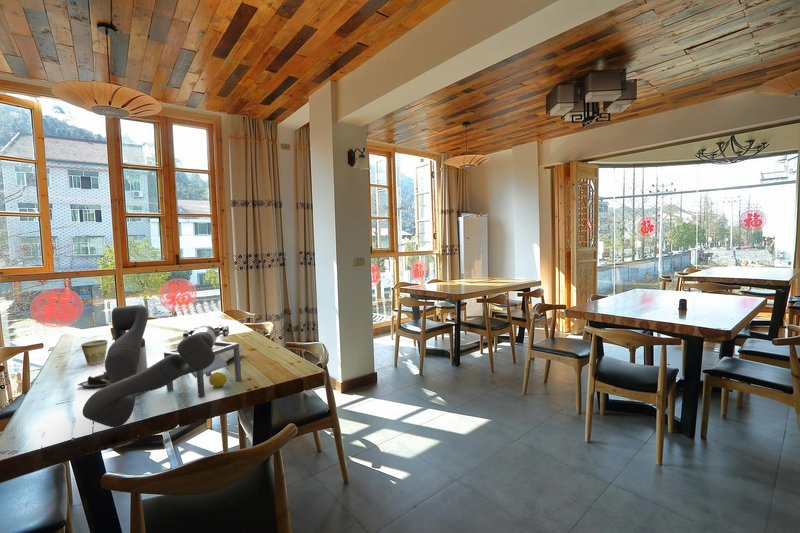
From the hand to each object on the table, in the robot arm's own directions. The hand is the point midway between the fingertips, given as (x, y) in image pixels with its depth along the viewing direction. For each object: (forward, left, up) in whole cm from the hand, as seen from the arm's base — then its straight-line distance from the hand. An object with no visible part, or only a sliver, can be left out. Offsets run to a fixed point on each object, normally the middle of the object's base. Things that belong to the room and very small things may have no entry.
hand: (208, 329), depth 141 cm
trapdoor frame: (+4, +9, -24) cm, 26 cm away
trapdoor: (+4, +11, -14) cm, 18 cm away
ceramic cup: (+9, +90, -24) cm, 94 cm away
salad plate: (-6, +53, -25) cm, 59 cm away
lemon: (+5, +7, -21) cm, 23 cm away
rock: (+27, +30, -24) cm, 47 cm away
